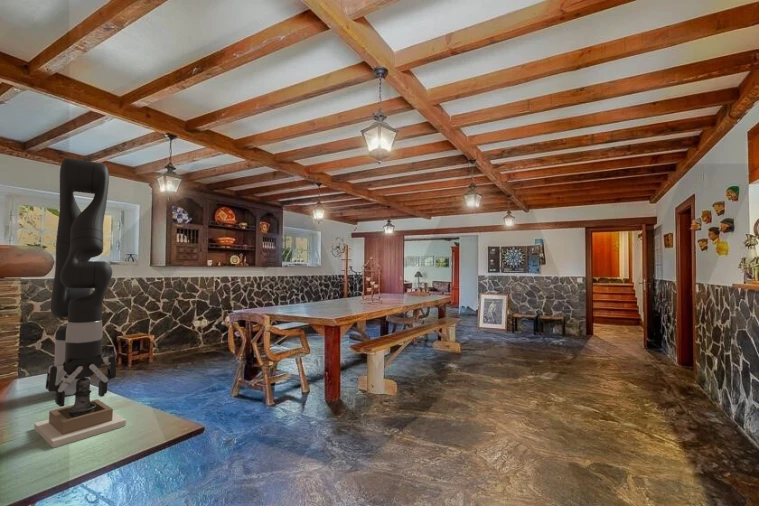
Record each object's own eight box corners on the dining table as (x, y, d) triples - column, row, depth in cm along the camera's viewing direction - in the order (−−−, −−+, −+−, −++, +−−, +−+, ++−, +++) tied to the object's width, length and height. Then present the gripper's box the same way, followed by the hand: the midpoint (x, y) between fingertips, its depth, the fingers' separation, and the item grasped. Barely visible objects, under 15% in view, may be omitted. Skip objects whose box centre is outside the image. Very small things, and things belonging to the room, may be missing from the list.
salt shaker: (62, 422, 97) (64, 375, 97) (88, 414, 102) (90, 370, 102) (73, 428, 94) (76, 379, 94) (100, 419, 99) (102, 373, 99)
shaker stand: (34, 429, 96) (34, 411, 96) (103, 410, 108) (104, 394, 108) (52, 448, 87) (53, 428, 88) (125, 425, 100) (126, 408, 100)
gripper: (110, 332, 106) (108, 389, 106) (44, 340, 94) (41, 405, 94) (121, 336, 102) (119, 396, 102) (53, 345, 90) (50, 413, 90)
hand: (81, 400), depth 98 cm, fingers open, 8 cm apart
